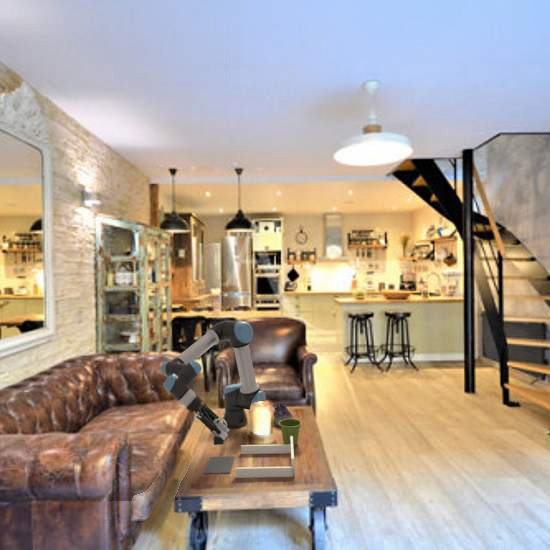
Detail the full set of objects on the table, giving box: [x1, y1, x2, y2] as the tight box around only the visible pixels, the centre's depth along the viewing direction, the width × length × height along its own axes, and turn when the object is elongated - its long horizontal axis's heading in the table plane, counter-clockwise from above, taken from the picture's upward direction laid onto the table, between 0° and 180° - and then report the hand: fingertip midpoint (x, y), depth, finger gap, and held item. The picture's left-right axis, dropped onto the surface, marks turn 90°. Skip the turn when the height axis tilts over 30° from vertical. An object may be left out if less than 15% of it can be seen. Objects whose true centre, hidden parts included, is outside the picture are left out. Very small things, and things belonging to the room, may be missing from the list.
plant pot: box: [279, 418, 302, 447], centre depth 211 cm, size 12×12×11 cm
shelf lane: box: [235, 436, 295, 479], centre depth 189 cm, size 24×26×8 cm
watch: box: [210, 417, 228, 446], centre depth 190 cm, size 6×8×11 cm
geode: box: [273, 402, 293, 428], centre depth 245 cm, size 20×12×10 cm, turn 8°
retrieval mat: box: [203, 455, 235, 475], centre depth 190 cm, size 16×12×1 cm
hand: (226, 434), depth 190 cm, fingers closed on watch, 5 cm apart
